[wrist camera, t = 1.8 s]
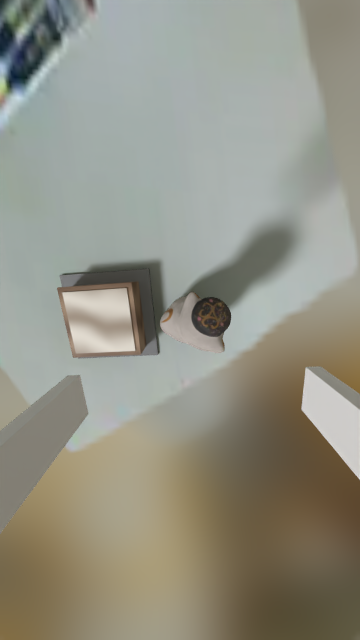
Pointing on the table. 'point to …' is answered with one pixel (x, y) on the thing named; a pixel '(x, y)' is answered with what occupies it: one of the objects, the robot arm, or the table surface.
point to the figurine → (197, 322)
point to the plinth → (103, 319)
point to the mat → (121, 277)
